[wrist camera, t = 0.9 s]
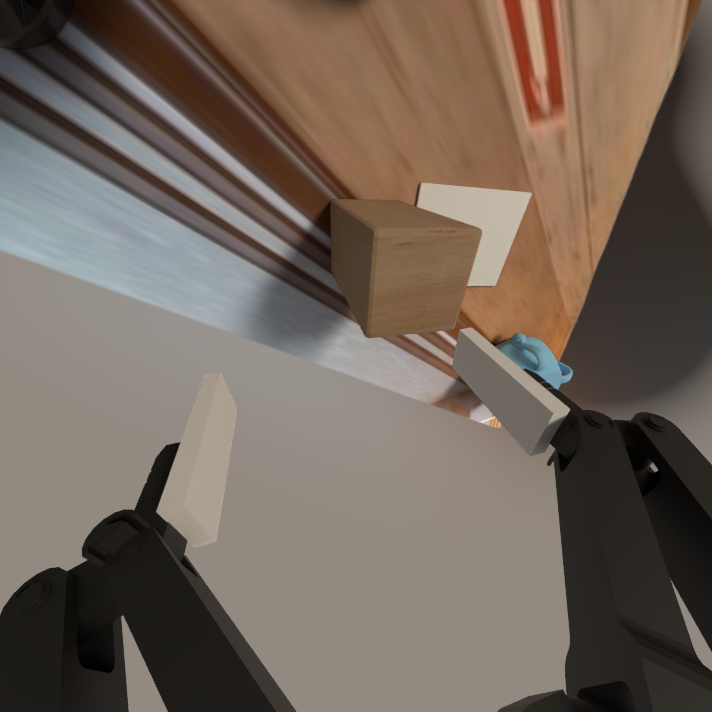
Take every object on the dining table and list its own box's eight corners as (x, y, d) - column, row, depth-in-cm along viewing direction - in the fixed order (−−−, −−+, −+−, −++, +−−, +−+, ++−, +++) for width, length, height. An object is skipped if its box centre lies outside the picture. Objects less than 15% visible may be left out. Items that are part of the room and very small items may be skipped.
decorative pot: (543, 348, 66) (596, 384, 55) (492, 392, 71) (531, 433, 60) (512, 317, 57) (568, 353, 46) (457, 370, 63) (495, 414, 52)
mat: (420, 182, 37) (421, 182, 37) (530, 192, 42) (532, 192, 42) (401, 285, 46) (401, 286, 46) (493, 285, 51) (495, 285, 50)
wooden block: (391, 270, 44) (456, 331, 28) (330, 272, 42) (365, 340, 26) (399, 199, 38) (486, 228, 23) (329, 198, 36) (372, 229, 20)
